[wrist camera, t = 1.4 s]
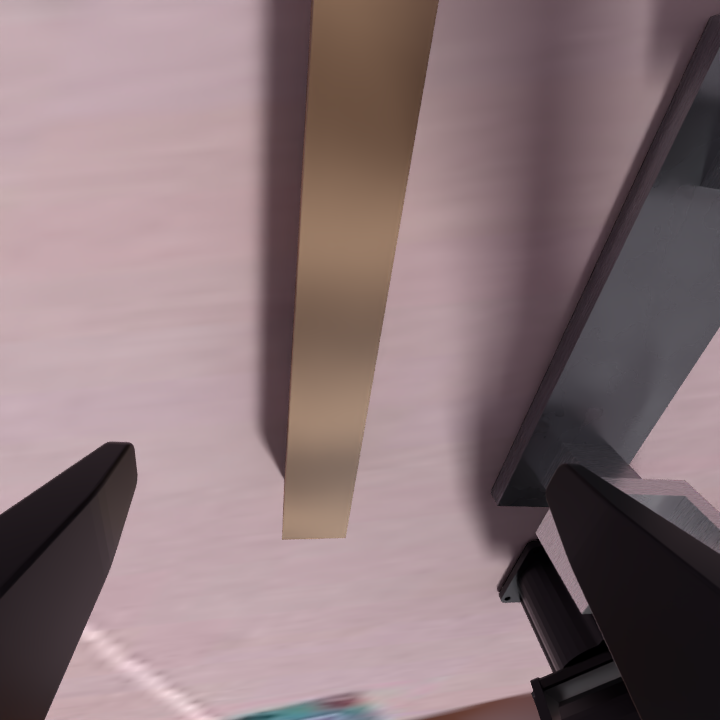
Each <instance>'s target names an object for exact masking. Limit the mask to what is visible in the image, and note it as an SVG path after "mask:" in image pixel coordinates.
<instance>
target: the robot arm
mask: <svg viewBox="0 0 720 720" xmlns="http://www.w3.org/2000/svg"><path fill="white" fill-rule="evenodd" d="M136 484H137V467H136V458H135V449H134V446H133V444H131V443H129V442H107V443H105V444H103V445H102V446H100V447H99V448H98V449H96V450H95V451H93V452H92V453H90V454H89V455H87V456H86V457H84V458H83V459H81V460H80V461H78V462H77V463H75V464H74V465H73V466H71V467H70V468H68V469H67V470H65V471H64V472H62V473H61V474H59V475H58V476H56V477H55V478H53V479H52V480H50V481H49V482H48V483H46V484H45V485H43V486H42V487H40V488H39V489H37V490H36V491H34V492H33V493H31V494H30V495H28V496H27V497H25V498H24V499H23V500H21V501H20V502H18V503H17V504H15V505H14V506H12V507H11V508H9V509H8V510H6V511H5V512H3V513H2V514H0V720H45V717H46V715H47V713H48V711H49V708H50V706H51V704H52V701H53V699H54V697H55V695H56V692H57V690H58V688H59V685H60V683H61V681H62V679H63V676H64V674H65V672H66V669H67V667H68V665H69V663H70V660H71V658H72V656H73V653H74V651H75V649H76V646H77V644H78V642H79V640H80V637H81V635H82V633H83V630H84V628H85V626H86V624H87V621H88V619H89V617H90V614H91V612H92V610H93V608H94V605H95V603H96V601H97V598H98V596H99V594H100V592H101V589H102V587H103V585H104V582H105V580H106V578H107V575H108V573H109V570H110V568H111V565H112V562H113V559H114V556H115V553H116V550H117V546H118V543H119V540H120V537H121V534H122V530H123V527H124V524H125V521H126V517H127V514H128V511H129V508H130V504H131V501H132V498H133V495H134V492H135V488H136ZM546 500H547V503H548V505H549V508H550V511H551V514H552V517H553V519H554V522H555V525H556V528H557V531H558V533H559V536H560V539H561V542H562V545H563V547H564V550H565V553H566V556H567V558H568V561H569V563H570V566H571V568H572V570H573V573H574V575H575V577H576V579H577V581H578V584H579V586H580V588H581V590H582V592H583V594H584V597H585V599H586V601H587V603H588V605H589V607H590V610H591V612H592V614H581V612H580V610H579V608H578V607H577V605H576V603H575V601H574V600H573V598H572V596H571V594H570V593H569V591H568V589H567V587H566V586H565V584H564V582H563V580H562V579H561V577H560V575H559V573H558V572H557V570H556V568H555V566H554V565H553V563H552V561H551V559H550V558H549V556H548V554H547V552H546V551H545V549H544V547H543V545H542V544H541V542H540V541H533V542H530V543H529V544H527V546H526V547H525V549H524V551H523V552H522V554H521V556H520V558H519V560H518V561H517V563H516V565H515V567H514V568H513V570H512V572H511V574H510V575H509V577H508V579H507V581H506V582H505V584H504V586H503V588H502V589H501V591H500V593H499V597H500V599H501V601H502V602H504V603H509V602H521V604H522V606H523V608H524V610H525V613H526V615H527V617H528V619H529V621H530V624H531V626H532V628H533V630H534V632H535V634H536V637H537V639H538V641H539V643H540V645H541V648H542V650H543V652H544V654H545V656H546V658H547V661H548V663H549V665H550V667H551V669H552V672H553V673H551V674H549V675H547V676H544V677H542V678H539V677H537V678H535V679H533V680H530V682H531V685H532V688H533V692H532V693H531V694H532V696H533V699H534V701H535V704H536V707H537V710H538V713H539V716H540V719H541V720H720V553H718V552H716V551H715V550H713V549H712V548H710V547H709V546H707V545H705V544H704V543H702V542H701V541H699V540H698V539H696V538H695V537H693V536H691V535H690V534H688V533H687V532H685V531H684V530H682V529H680V528H679V527H677V526H676V525H674V524H673V523H671V522H670V521H668V520H666V519H665V518H663V517H662V516H660V515H659V514H657V513H655V512H654V511H652V510H651V509H649V508H648V507H646V506H645V505H643V504H641V503H640V502H638V501H637V500H635V499H634V498H632V497H631V496H629V495H627V494H626V493H624V492H623V491H621V490H620V489H618V488H616V487H615V486H613V485H612V484H610V483H609V482H607V481H606V480H604V479H602V478H601V477H599V476H598V475H596V474H595V473H593V472H591V471H590V470H588V469H587V468H585V467H584V466H582V465H580V464H572V463H563V464H561V465H559V466H558V468H557V469H556V471H555V473H554V475H553V477H552V479H551V480H550V482H549V484H548V486H547V488H546Z"/></svg>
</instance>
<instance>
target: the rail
mask: <svg viewBox="0 0 720 720" xmlns="http://www.w3.org/2000/svg"><path fill="white" fill-rule="evenodd" d="M438 2H439V0H312V3H311V21H310V39H309V56H308V74H307V91H306V109H305V126H304V144H303V162H302V179H301V197H300V214H299V232H298V249H297V267H296V285H295V302H294V320H293V337H292V355H291V373H290V390H289V408H288V425H287V443H286V460H285V478H284V503H283V530H282V540H287V539H323V538H346V532H347V526H348V521H349V515H350V509H351V503H352V497H353V492H354V486H355V480H356V474H357V469H358V463H359V457H360V451H361V446H362V440H363V434H364V428H365V423H366V417H367V411H368V405H369V400H370V394H371V388H372V382H373V376H374V371H375V365H376V359H377V353H378V348H379V342H380V336H381V330H382V325H383V319H384V313H385V307H386V302H387V296H388V290H389V284H390V278H391V273H392V267H393V261H394V255H395V250H396V244H397V238H398V232H399V227H400V221H401V215H402V209H403V204H404V198H405V192H406V186H407V181H408V175H409V169H410V163H411V157H412V152H413V146H414V140H415V134H416V129H417V123H418V117H419V111H420V106H421V100H422V94H423V88H424V83H425V77H426V71H427V65H428V59H429V54H430V48H431V42H432V36H433V31H434V25H435V19H436V13H437V8H438Z"/></svg>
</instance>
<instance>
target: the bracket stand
mask: <svg viewBox="0 0 720 720" xmlns="http://www.w3.org/2000/svg"><path fill="white" fill-rule="evenodd" d="M719 327H720V14H719V15H716V16H712V17H711V18H710V20H709V22H708V24H707V26H706V28H705V31H704V33H703V35H702V37H701V39H700V41H699V43H698V46H697V48H696V50H695V52H694V54H693V56H692V59H691V61H690V63H689V65H688V67H687V69H686V72H685V74H684V76H683V78H682V80H681V82H680V85H679V87H678V89H677V91H676V93H675V95H674V98H673V100H672V102H671V104H670V106H669V108H668V111H667V113H666V115H665V117H664V119H663V121H662V124H661V126H660V128H659V130H658V132H657V134H656V136H655V139H654V141H653V143H652V145H651V147H650V149H649V152H648V154H647V156H646V158H645V160H644V162H643V165H642V167H641V169H640V171H639V173H638V175H637V178H636V180H635V182H634V184H633V186H632V188H631V191H630V193H629V195H628V197H627V199H626V201H625V204H624V206H623V208H622V210H621V212H620V214H619V217H618V219H617V221H616V223H615V225H614V227H613V229H612V232H611V234H610V236H609V238H608V240H607V242H606V245H605V247H604V249H603V251H602V253H601V255H600V258H599V260H598V262H597V264H596V266H595V268H594V271H593V273H592V275H591V277H590V279H589V281H588V284H587V286H586V288H585V290H584V292H583V294H582V297H581V299H580V301H579V303H578V305H577V307H576V310H575V312H574V314H573V316H572V318H571V320H570V322H569V325H568V327H567V329H566V331H565V333H564V335H563V338H562V340H561V342H560V344H559V346H558V348H557V351H556V353H555V355H554V357H553V359H552V361H551V364H550V366H549V368H548V370H547V372H546V374H545V377H544V379H543V381H542V383H541V385H540V387H539V390H538V392H537V394H536V396H535V398H534V400H533V403H532V405H531V407H530V409H529V411H528V413H527V415H526V418H525V420H524V422H523V424H522V426H521V428H520V431H519V433H518V435H517V437H516V439H515V441H514V444H513V446H512V448H511V450H510V452H509V454H508V457H507V459H506V461H505V463H504V465H503V467H502V470H501V472H500V474H499V476H498V478H497V480H496V483H495V485H494V487H493V489H492V491H491V494H492V496H493V498H494V500H495V502H496V504H497V506H528V507H549V505H548V503H547V500H546V488H547V486H548V484H549V482H550V480H551V479H552V477H553V475H554V473H555V471H556V469H557V468H558V466H559V465H561V464H563V463H572V464H580V465H582V466H584V467H585V468H587V469H588V470H590V471H591V472H593V473H595V474H596V475H598V476H599V477H601V478H602V479H604V480H606V481H607V482H609V483H610V484H612V485H613V486H615V487H616V488H618V489H620V490H621V491H623V492H624V493H626V494H627V495H629V496H631V497H632V498H634V499H635V500H637V501H638V502H640V503H641V504H643V505H645V506H646V507H648V508H649V509H651V510H652V511H654V512H655V513H657V514H659V515H660V516H662V517H663V518H665V519H666V520H668V521H670V522H671V523H673V524H674V525H676V526H677V527H679V528H680V529H682V530H684V531H685V532H687V533H688V534H690V535H691V536H693V537H695V538H696V539H698V540H699V541H701V542H702V543H704V544H705V545H707V546H709V547H710V548H712V549H713V550H715V551H716V552H718V553H720V512H719V511H717V510H716V509H715V508H714V507H713V506H712V505H711V504H710V503H709V502H708V501H707V500H706V499H705V498H704V497H702V496H701V495H700V494H699V493H698V492H697V491H696V490H695V489H694V488H693V487H692V486H691V485H690V484H689V483H687V482H686V481H685V480H659V479H642V478H641V477H640V476H639V475H638V474H637V473H636V472H635V471H634V470H633V469H632V468H631V467H630V466H629V464H630V462H631V461H632V459H633V458H634V456H635V455H636V453H637V451H638V450H639V448H640V447H641V445H642V444H643V442H644V441H645V439H646V438H647V436H648V435H649V433H650V432H651V430H652V429H653V427H654V426H655V424H656V423H657V421H658V420H659V418H660V417H661V415H662V414H663V412H664V411H665V409H666V407H667V406H668V404H669V403H670V401H671V400H672V398H673V397H674V395H675V394H676V392H677V391H678V389H679V388H680V386H681V385H682V383H683V382H684V380H685V379H686V377H687V376H688V374H689V373H690V371H691V370H692V368H693V367H694V365H695V364H696V362H697V360H698V359H699V357H700V356H701V354H702V353H703V351H704V350H705V348H706V347H707V345H708V344H709V342H710V341H711V339H712V338H713V336H714V335H715V333H716V332H717V330H718V329H719ZM536 535H537V537H538V538H539V540H540V542H541V544H542V545H543V547H544V549H545V551H546V552H547V554H548V556H549V558H550V559H551V561H552V563H553V565H554V566H555V568H556V570H557V572H558V573H559V575H560V577H561V579H562V580H563V582H564V584H565V586H566V587H567V589H568V591H569V593H570V594H571V596H572V598H573V600H574V601H575V603H576V605H577V607H578V608H579V610H580V612H581V614H592V612H591V610H590V607H589V605H588V603H587V601H586V599H585V597H584V594H583V592H582V590H581V588H580V586H579V584H578V581H577V579H576V577H575V575H574V573H573V570H572V568H571V566H570V563H569V561H568V558H567V556H566V553H565V550H564V547H563V545H562V542H561V539H560V536H559V533H558V531H557V528H556V525H555V522H554V519H553V517H552V514H551V511H550V508H549V510H548V512H547V514H546V515H545V517H544V519H543V521H542V522H541V524H540V526H539V528H538V529H537V531H536Z"/></svg>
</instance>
